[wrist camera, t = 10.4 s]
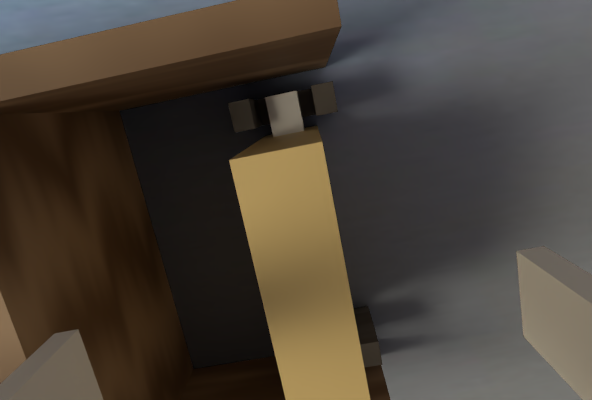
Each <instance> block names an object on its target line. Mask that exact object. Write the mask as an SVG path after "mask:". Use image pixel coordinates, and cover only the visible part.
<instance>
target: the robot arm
mask: <svg viewBox="0 0 592 400" xmlns="http://www.w3.org/2000/svg"><path fill="white" fill-rule="evenodd" d="M516 253H517V265H518V277H519V289H520V301H521V313H522V324H523V336H524V337H525V339H526V340H527V341H528V342H529V343H530V344H531V345H532V346H533V347H534V348H535V349H536V350H537V351H538V352H539V353H540V355H541V356H542V357H543V358H544V359H545V360H546V361H547V362H548V363H549V364H550V365H551V366H552V367H553V368H554V370H555V371H556V372H557V373H558V374H559V375H560V376H561V377H562V378H563V379H564V380H565V381H566V382H567V383H568V384H569V386H570V387H571V388H572V389H573V390H574V391H575V392H576V393H577V394H578V395H579V396H580V397H581V398H582V399H583V400H592V275H591V274H589V273H588V272H586V271H584V270H583V269H581V268H579V267H578V266H576V265H574V264H573V263H571V262H569V261H568V260H566V259H564V258H563V257H561V256H559V255H558V254H556V253H555V252H553V251H551V250H550V249H548V248H546V247H545V246H541V247H535V248H530V249H524V250H519V251H516ZM0 400H103V397H102V394H101V391H100V389H99V386H98V383H97V380H96V377H95V375H94V372H93V369H92V366H91V363H90V361H89V358H88V355H87V352H86V350H85V347H84V344H83V341H82V338H81V336H80V333H79V330H78V329H77V330H71V331H65V332H60V333H54V334H53V335H52V336H51V337H50V338H49V339H48V340H47V341H46V342H45V343H44V344H43V345H42V346H40V347H39V348H38V349H37V350H36V351H35V352H34V353H33V354H32V355H31V356H30V357H29V358H28V359H27V360H26V361H24V362H23V363H22V364H21V365H20V366H19V367H18V368H17V369H16V370H15V371H14V372H13V373H12V374H11V375H9V376H8V377H7V378H6V379H5V380H4V381H3V382H2V383H1V384H0Z"/></svg>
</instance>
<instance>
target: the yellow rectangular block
mask: <svg viewBox="0 0 592 400" xmlns="http://www.w3.org/2000/svg"><path fill="white" fill-rule="evenodd" d="M265 100H266V105H267V109H268V114H269V119H270V124H271V128H272V133H273V134H272V135H267V136H265V137H263V138H262V139H260V140H259V141H257V142H256V143H254V144H253V145H251V146H250V147H248V148H247V149H245V150H244V151H242V152H241V153H239V154H238V155H236V156H235V157H233V158H232V159H230V160H229V162H230V167H231V171H232V175H233V179H234V183H235V188H236V192H237V196H238V200H239V205H240V209H241V213H242V217H243V221H244V226H245V230H246V234H247V238H248V243H249V247H250V251H251V255H252V259H253V264H254V268H255V272H256V276H257V281H258V285H259V289H260V293H261V297H262V302H263V306H264V310H265V314H266V319H267V323H268V327H269V331H270V335H271V340H272V344H273V348H274V352H275V357H276V361H277V365H278V369H279V373H280V378H281V382H282V386H283V390H284V395H285V399H286V400H370V395H369V390H368V384H367V379H366V374H365V368H364V363H363V357H362V352H361V347H360V341H359V336H358V331H357V325H356V320H355V315H354V309H353V304H352V298H351V293H350V288H349V282H348V277H347V272H346V266H345V261H344V255H343V250H342V245H341V239H340V234H339V229H338V223H337V218H336V213H335V207H334V202H333V196H332V191H331V186H330V180H329V175H328V170H327V164H326V159H325V154H324V148H323V143H322V139H321V136H320V133H319V130H318V127H317V126H312V127H307V128H304V123H303V118H302V113H301V108H300V103H299V97H298V92H297V91H292V92H288V93H283V94H278V95H273V96H269V97H265Z"/></svg>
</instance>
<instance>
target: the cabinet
mask: <svg viewBox="0 0 592 400" xmlns="http://www.w3.org/2000/svg"><path fill="white" fill-rule="evenodd" d="M340 29H341V20H340V14H339V8H338V2H337V0H236V1H232V2H227V3H223V4H219V5H214V6H210V7H206V8H201V9H197V10H193V11H188V12H184V13H180V14H175V15H171V16H166V17H162V18H158V19H153V20H149V21H145V22H140V23H136V24H132V25H127V26H123V27H119V28H114V29H110V30H105V31H101V32H97V33H92V34H88V35H84V36H79V37H75V38H71V39H66V40H62V41H58V42H53V43H49V44H44V45H40V46H36V47H31V48H27V49H23V50H18V51H14V52H10V53H5V54H1V55H0V384H1V383H2V382H3V381H4V380H5V379H6V378H7V377H8V376H9V375H11V374H12V373H13V372H14V371H15V370H16V369H17V368H18V367H19V366H20V365H21V364H22V363H23V362H24V361H26V360H27V359H28V358H29V357H30V356H31V355H32V354H33V353H34V352H35V351H36V350H37V349H38V348H39V347H40V346H42V345H43V344H44V343H45V342H46V341H47V340H48V339H49V338H50V337H51V336H52V335H53V334H54V333H60V332H65V331H71V330H77V329H78V330H79V333H80V336H81V338H82V341H83V344H84V347H85V350H86V352H87V355H88V358H89V361H90V363H91V366H92V369H93V372H94V375H95V377H96V380H97V383H98V386H99V389H100V391H101V394H102V397H103V400H286V399H285V395H284V390H283V386H282V382H281V378H280V373H279V369H278V365H277V361H276V357H275V356H272V357H266V358H260V359H254V360H247V361H241V362H235V363H229V364H222V365H216V366H210V367H204V368H197V369H193V366H192V362H191V359H190V355H189V352H188V348H187V345H186V341H185V338H184V335H183V331H182V328H181V324H180V321H179V317H178V314H177V310H176V307H175V303H174V300H173V296H172V293H171V289H170V286H169V282H168V279H167V275H166V272H165V268H164V265H163V261H162V258H161V254H160V251H159V248H158V244H157V241H156V237H155V234H154V230H153V227H152V223H151V220H150V216H149V213H148V209H147V206H146V202H145V199H144V195H143V192H142V188H141V185H140V181H139V178H138V174H137V171H136V167H135V164H134V161H133V157H132V154H131V150H130V147H129V143H128V140H127V136H126V133H125V129H124V126H123V122H122V119H121V115H120V112H119V111H121V110H126V109H131V108H135V107H140V106H145V105H149V104H154V103H159V102H163V101H168V100H173V99H177V98H182V97H187V96H192V95H196V94H201V93H206V92H210V91H215V90H220V89H224V88H229V87H234V86H238V85H243V84H248V83H252V82H257V81H262V80H267V79H271V78H276V77H281V76H285V75H290V74H295V73H299V72H304V71H309V70H313V69H318V68H323V67H326V64H327V62H328V59H329V57H330V54H331V52H332V49H333V46H334V44H335V41H336V39H337V36H338V34H339V31H340ZM297 92H298V97H299V103H300V108H301V113H302V117H306V116H311V115H317V116H319V115H324V114H329V113H334V112H338V109H337V104H336V98H335V92H334V87H333V81H331V82H326V83H322V84H317V85H312V86H311V89H307V90H302V91H297ZM228 106H229V110H230V115H231V119H232V123H233V128H234V132H235V133H236V132H241V131H245V130H250V129H255V128H258V127H260V126H262V125H267V124H270V119H269V114H268V109H267V105H266V100H265V98H264V99H259V100H254V99H246V100H241V101H236V102H231V103H228ZM354 315H355V320H356V325H357V331H358V336H359V341H360V347H361V352H362V357H363V363H364V368H365V374H366V379H367V384H368V390H369V395H370V400H390V396H389V393H388V389H387V385H386V382H385V378H384V374H383V371H382V367H381V365H382V360H381V354H380V348H379V343H378V339H377V335H376V332H375V328H374V325H373V321H372V318H371V314H370V311H369V308H368V306H366V307H360V308H354Z"/></svg>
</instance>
